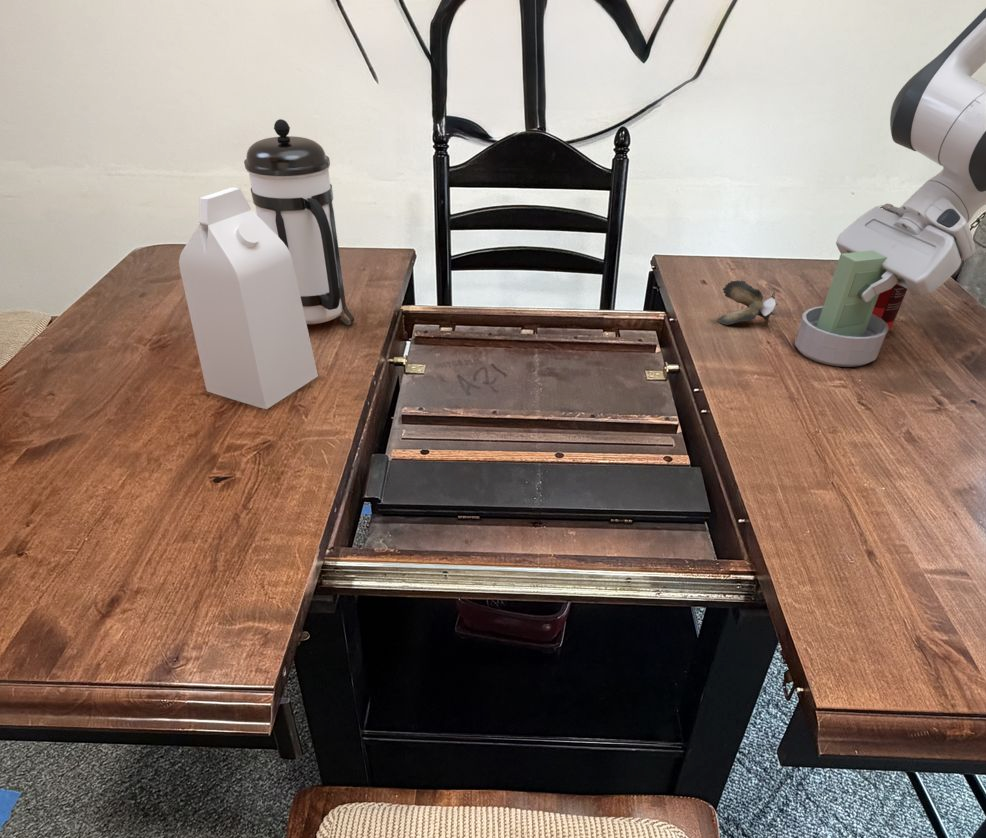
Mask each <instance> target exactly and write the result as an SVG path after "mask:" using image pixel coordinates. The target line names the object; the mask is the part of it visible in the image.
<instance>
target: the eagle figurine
mask: <svg viewBox="0 0 986 838" xmlns="http://www.w3.org/2000/svg"><path fill="white" fill-rule="evenodd" d="M724 286H725V287H723V288H722V290H723V293H724V296H725V297H726V298H728V299H730V300H733V302H736V303H738V304H742V305H744V306H746V308H743V309H742V308H741V309H738V310H734V311H731V312H729V313H728V314H723V315H721V316H719V317H718V318H716V321H717V322H718V323H719V324H722V325H734V324H735V323H740V322H744V321H746V322H750V321H753V320H755V319H756V318H757V316H759V317H761V318H762V319H763V320H764V323H765V324H766V325H768V324H769V321H770V316H775V313H774V310H775V308H776V306H778V305H779V302H776V300H775V299H776V296H775V295H776V290H774V291H773V292H772V294H771V296H770V297H769V298H767V299H766V300H764V301H763V299H764V295H763V293H762V292H761V290H760V289H757V288H754V287H753V286H752V285H749V283H747V282H746V281H744V280H740V279H739V280H738V279H737V280H731V281H730V282H728V283H727V284H725V285H724Z"/></svg>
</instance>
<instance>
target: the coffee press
mask: <svg viewBox="0 0 986 838" xmlns="http://www.w3.org/2000/svg"><path fill="white" fill-rule="evenodd" d="M273 126H274V127H273V130H274V131H275V133H276V135H277V136H273V137H267V138H263V139H259V140H257V141H255V142H253V144H251V145H250V146H249V147H248V149H247V151H246V158H245V159H244V160H243V165H244V168H245V170H246V171H247V173H248V176H249V180H250V186H251V188H250V193H251V199H252V203H253V204H254V206H255V211H256V214H257V216H258V217H259V218H260V219H261V220H262V221H263V222H264V223H265V224H266V225H267V226H268V227H269V228H270V229H271V230H272V231H273V232H274V233H275V234H276V235H277V236H278V237H279V238H280V239H281V240H282V241H283V242H284V244H285V245H286V246H287V248H288V250H289V252H290V254H291V257H292V261H293V265H294V270H295V274H296V279H297V283H298V288H299V292H300V297H301V301H302V306H303V310H304V315H305V319H306V324H307V325H317V324H322V323H326V322H330V321H332V320H334V319H337V320H340V321H341V322H342V323H343V324H344V325H345V326H347V327H349V326H351V325H352V324H353V323H354V321H355V317H354V315H353V314H352V313H351V312H350V310H349V309H348V306H347V303H346V296H345V288H344V279H343V272H342V265H341V257H340V256H341V255H340V249H339V242H338V241H339V240H338V233H337V225H336V218H335V217H336V216H335V211H334V210H335V209H334V202H333V200H334V192H333V185H332V183H331V181H330V180H331V179H330V172H329V171H330V166H331V161H330V157H329V156H328V155H327V154H326V152H325V150H324V148H323V146H322V145H320V144H319V143H318V142H317V141H316V140H313V139H310V138H307V137H304V136H303V137H302V136H291V135H290V136H289V134H290V129H291V127H290V125H289V123H288V121H286V120H285V119H283V118H279V119H277V120H275V121H274V124H273ZM343 313H345V315H346V317H347V318H348V319H349V320H350V321H349V320H347V318H345V316H343V315H342V314H343Z"/></svg>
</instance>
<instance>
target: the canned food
mask: <svg viewBox="0 0 986 838" xmlns="http://www.w3.org/2000/svg"><path fill="white" fill-rule="evenodd" d="M907 291H908V289H906V288H904V287H902V286H900V285H898V284H896V285H894V286H893V287H892V288H891V289H889V290H887V291H884V292H882V293H879V296H878V299H877V301H876V304H875V306H874V309H873V312H872V314H874V315H876V316H878V317H879V318H881V319H883V320H884V321H885V322H886V323H887V325H888V328H889V330H888V332H887V334H888V333H889V332H890V331H891V329H892V328H893V325H894V323H895V321H896V318H897V316H898V314H899V311H900V308H901V307H902V304H903V302H904V298H905V297H906V294H907Z"/></svg>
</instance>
